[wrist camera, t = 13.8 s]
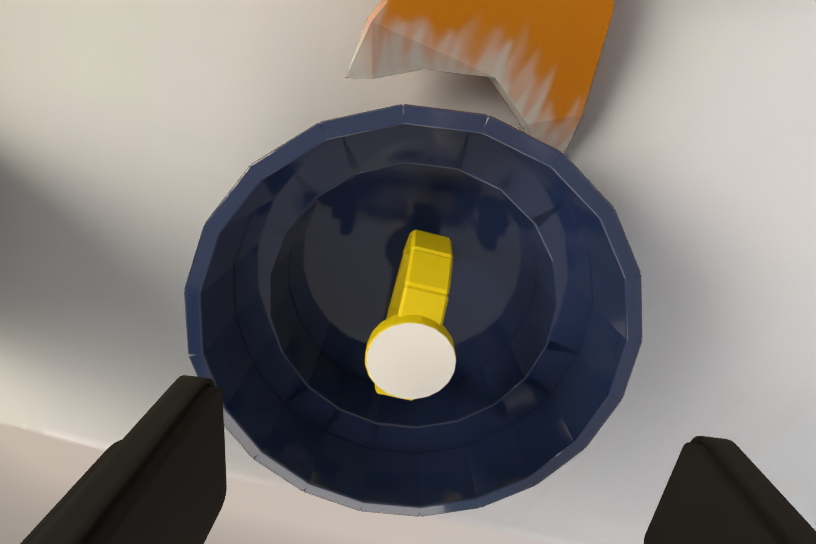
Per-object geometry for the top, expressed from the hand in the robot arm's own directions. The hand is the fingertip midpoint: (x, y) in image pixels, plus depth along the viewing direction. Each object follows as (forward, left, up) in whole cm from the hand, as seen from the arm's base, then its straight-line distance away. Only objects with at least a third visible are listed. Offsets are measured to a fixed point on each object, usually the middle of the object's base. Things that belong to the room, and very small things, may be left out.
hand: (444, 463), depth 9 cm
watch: (+1, 0, -11) cm, 11 cm away
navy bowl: (+1, 0, -11) cm, 11 cm away
